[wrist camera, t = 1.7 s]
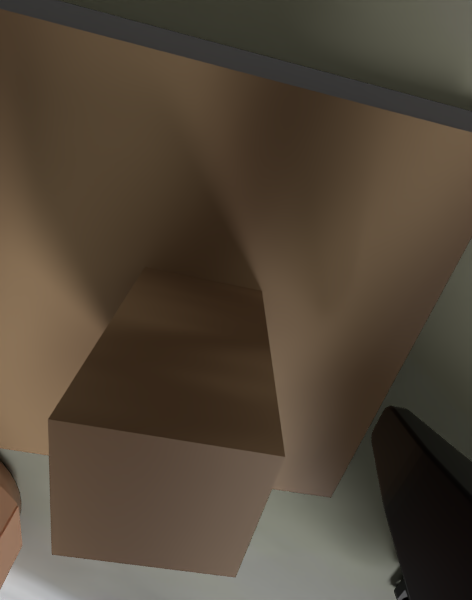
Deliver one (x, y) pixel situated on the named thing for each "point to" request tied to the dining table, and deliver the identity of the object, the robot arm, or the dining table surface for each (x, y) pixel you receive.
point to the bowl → (9, 522)
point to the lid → (203, 285)
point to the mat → (239, 60)
